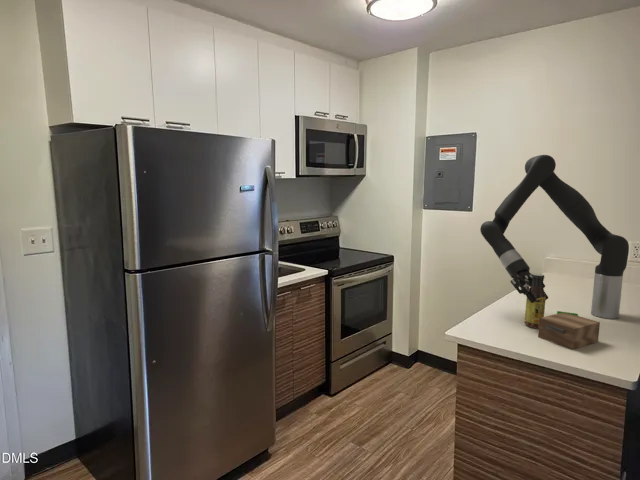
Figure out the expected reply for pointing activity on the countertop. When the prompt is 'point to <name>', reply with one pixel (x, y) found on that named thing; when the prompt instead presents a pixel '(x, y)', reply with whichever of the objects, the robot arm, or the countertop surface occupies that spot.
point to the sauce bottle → (538, 307)
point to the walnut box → (568, 330)
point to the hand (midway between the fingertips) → (540, 300)
